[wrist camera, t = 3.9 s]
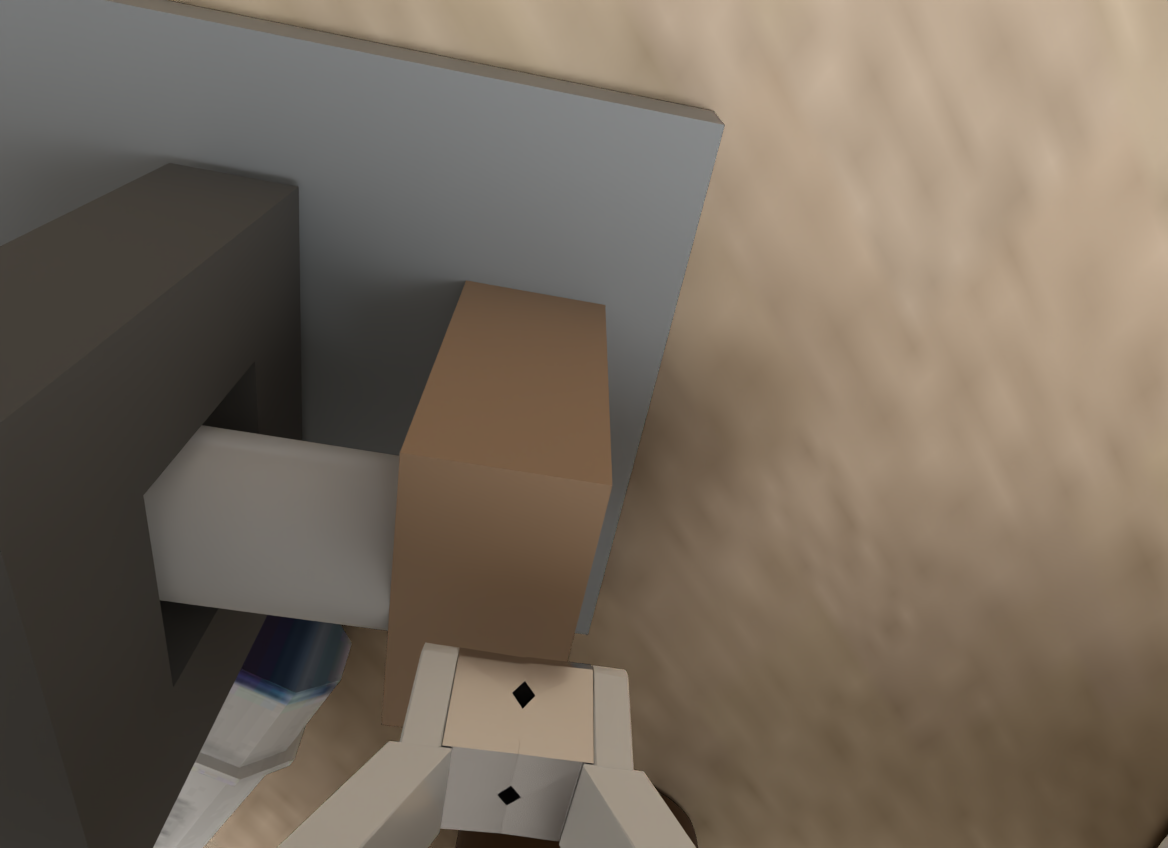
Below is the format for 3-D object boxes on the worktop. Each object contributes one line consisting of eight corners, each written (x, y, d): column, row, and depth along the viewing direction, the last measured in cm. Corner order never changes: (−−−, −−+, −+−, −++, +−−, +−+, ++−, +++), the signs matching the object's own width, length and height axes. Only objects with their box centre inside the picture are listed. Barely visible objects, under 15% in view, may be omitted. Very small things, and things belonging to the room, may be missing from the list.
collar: (298, 186, 14) (-30, 446, 7) (303, 540, 19) (112, 930, 12) (169, 162, 14) (-320, 403, 7) (206, 526, 19) (-54, 914, 11)
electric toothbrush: (355, 729, 20) (19, 1145, 28) (393, 579, 27) (107, 955, 34) (168, 648, 19) (-135, 1112, 27) (254, 507, 25) (-13, 918, 33)
